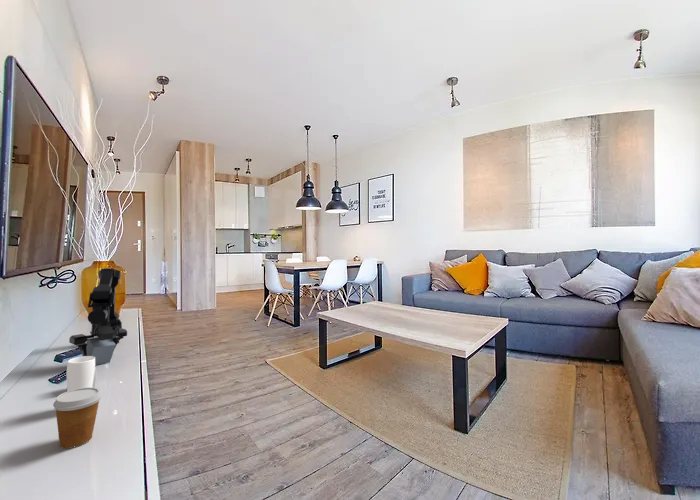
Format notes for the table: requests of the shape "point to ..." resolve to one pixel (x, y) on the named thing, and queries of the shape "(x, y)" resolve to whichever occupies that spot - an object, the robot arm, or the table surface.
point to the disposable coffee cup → (76, 415)
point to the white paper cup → (80, 372)
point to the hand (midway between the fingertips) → (98, 356)
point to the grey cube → (100, 350)
